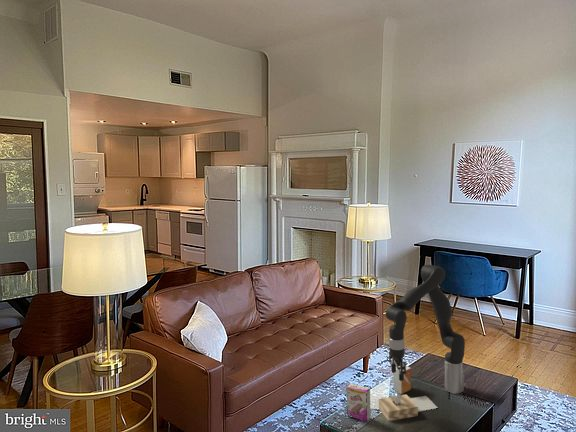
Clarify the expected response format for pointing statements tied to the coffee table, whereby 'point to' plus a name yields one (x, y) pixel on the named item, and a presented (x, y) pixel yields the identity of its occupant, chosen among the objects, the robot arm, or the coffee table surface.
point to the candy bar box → (358, 402)
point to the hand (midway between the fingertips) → (397, 376)
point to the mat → (424, 403)
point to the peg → (397, 398)
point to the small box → (402, 385)
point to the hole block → (398, 408)
